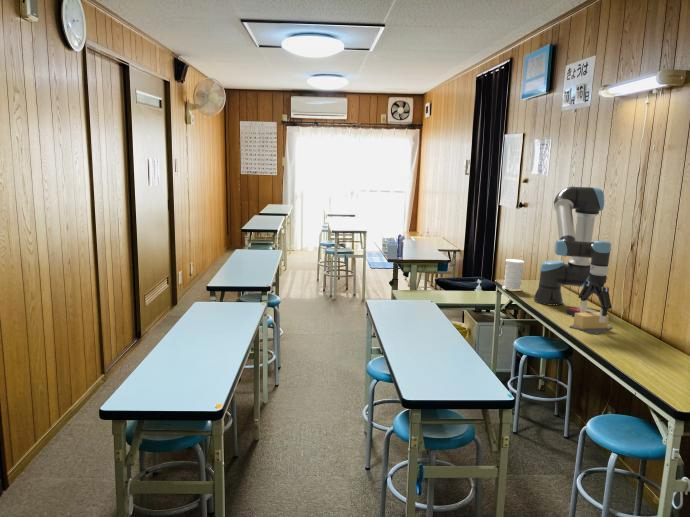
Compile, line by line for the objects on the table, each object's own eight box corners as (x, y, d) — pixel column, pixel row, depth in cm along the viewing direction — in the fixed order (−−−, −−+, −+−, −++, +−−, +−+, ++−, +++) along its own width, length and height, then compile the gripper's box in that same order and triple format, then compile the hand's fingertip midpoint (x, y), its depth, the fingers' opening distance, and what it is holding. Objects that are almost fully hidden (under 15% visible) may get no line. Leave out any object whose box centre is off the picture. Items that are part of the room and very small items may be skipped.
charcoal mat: (585, 321, 266) (585, 320, 265) (612, 328, 256) (612, 326, 256) (569, 327, 254) (569, 326, 254) (597, 334, 245) (597, 333, 245)
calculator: (582, 306, 282) (605, 312, 268) (582, 314, 282) (604, 321, 268) (566, 307, 278) (588, 313, 264) (565, 315, 279) (587, 322, 265)
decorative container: (525, 292, 323) (528, 262, 320) (506, 291, 322) (510, 262, 318) (516, 287, 335) (519, 259, 331) (498, 287, 333) (501, 258, 330)
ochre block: (583, 316, 249) (608, 315, 253) (574, 312, 255) (600, 312, 258) (581, 328, 250) (607, 328, 254) (573, 324, 256) (598, 324, 259)
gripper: (574, 268, 262) (568, 310, 265) (609, 280, 238) (603, 326, 241) (587, 268, 263) (582, 310, 267) (624, 280, 239) (617, 325, 243)
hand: (592, 318), depth 254 cm, fingers open, 13 cm apart
